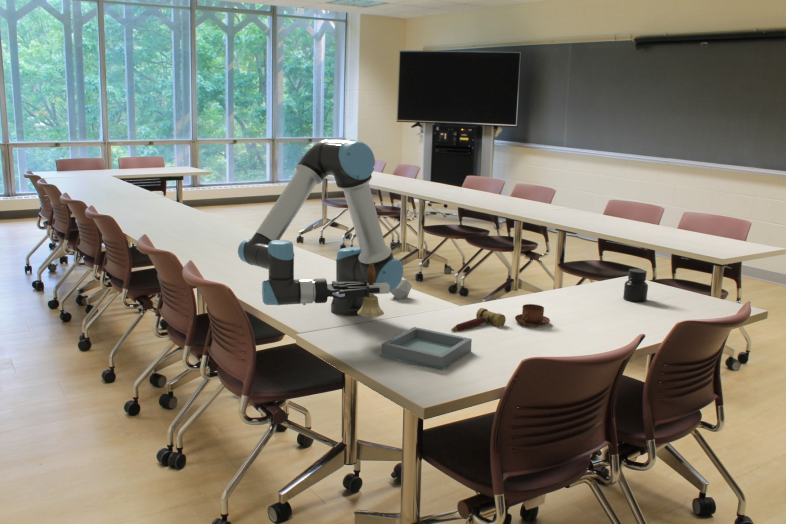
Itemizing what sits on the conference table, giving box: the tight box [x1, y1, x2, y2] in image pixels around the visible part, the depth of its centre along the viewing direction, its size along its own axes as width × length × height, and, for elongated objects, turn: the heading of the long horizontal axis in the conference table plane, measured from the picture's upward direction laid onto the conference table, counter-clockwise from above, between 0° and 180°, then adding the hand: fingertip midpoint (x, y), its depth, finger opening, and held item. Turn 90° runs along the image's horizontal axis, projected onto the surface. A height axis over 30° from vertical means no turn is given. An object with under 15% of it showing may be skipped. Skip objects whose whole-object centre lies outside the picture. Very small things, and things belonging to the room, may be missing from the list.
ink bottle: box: [622, 268, 649, 303], centre depth 282 cm, size 10×9×12 cm
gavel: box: [450, 307, 507, 332], centre depth 241 cm, size 21×5×10 cm
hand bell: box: [357, 264, 384, 318], centre depth 220 cm, size 8×8×16 cm
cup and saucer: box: [514, 303, 551, 328], centre depth 246 cm, size 12×12×6 cm
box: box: [380, 326, 472, 372], centre depth 213 cm, size 20×20×4 cm
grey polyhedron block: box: [389, 276, 413, 300], centre depth 274 cm, size 8×9×10 cm
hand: (388, 287), depth 222 cm, fingers closed on hand bell, 2 cm apart
